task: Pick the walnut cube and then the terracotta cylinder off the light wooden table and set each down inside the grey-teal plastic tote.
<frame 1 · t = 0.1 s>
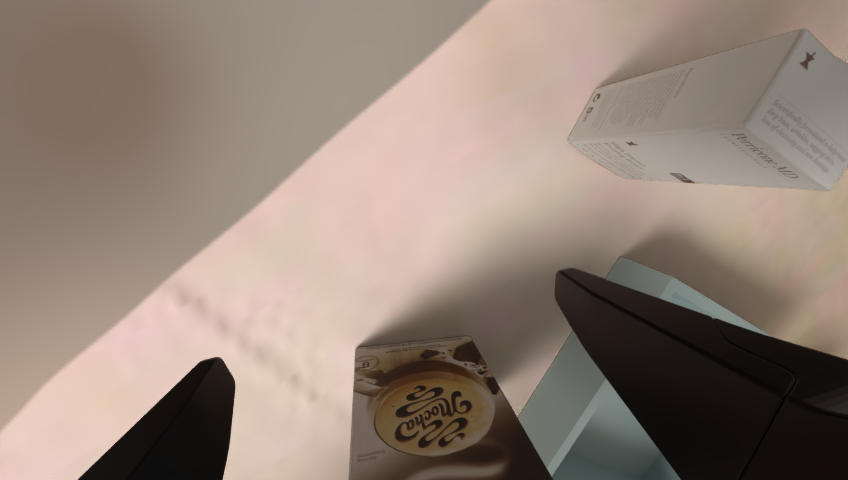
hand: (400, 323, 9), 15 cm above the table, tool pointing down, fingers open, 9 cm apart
tote: (628, 379, 31), on the table
coffee box: (414, 373, 28), on the table
skincare box: (610, 134, 26), on the table
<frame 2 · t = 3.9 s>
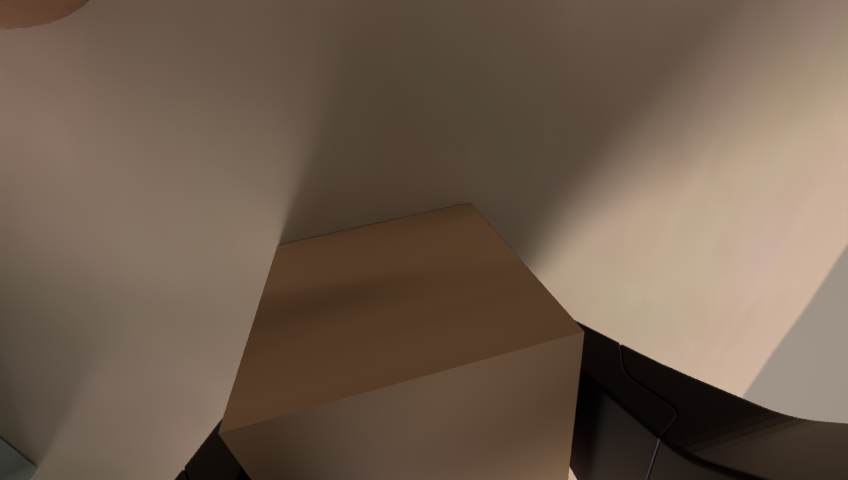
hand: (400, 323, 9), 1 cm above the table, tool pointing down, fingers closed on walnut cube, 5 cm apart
walnut cube: (394, 299, 10), on the table, touching gripper
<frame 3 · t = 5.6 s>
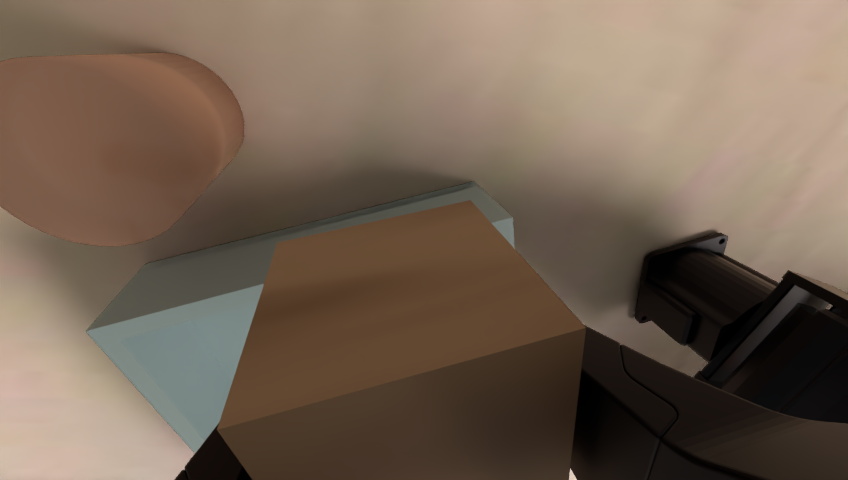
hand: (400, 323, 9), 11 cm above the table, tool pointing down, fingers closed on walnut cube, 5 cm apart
tote: (356, 327, 23), on the table
terracotta cylinder: (180, 117, 15), on the table
walnut cube: (394, 297, 10), point 10 cm above the table, touching gripper
when the fingers open (4 cm above the table, at t = 7.6 s): walnut cube drops 2 cm, resting on tote.
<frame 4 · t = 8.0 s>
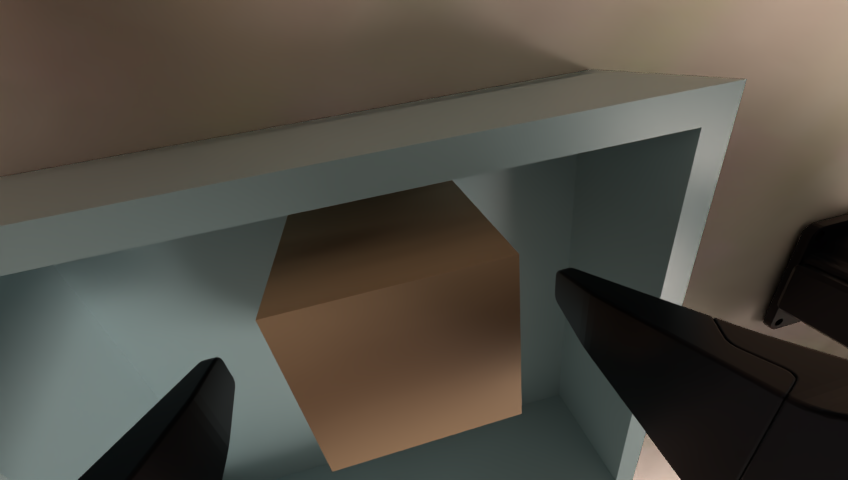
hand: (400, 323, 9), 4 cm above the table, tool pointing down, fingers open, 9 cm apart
tote: (372, 319, 14), on the table
walnut cube: (387, 260, 12), point 1 cm above the table, touching tote
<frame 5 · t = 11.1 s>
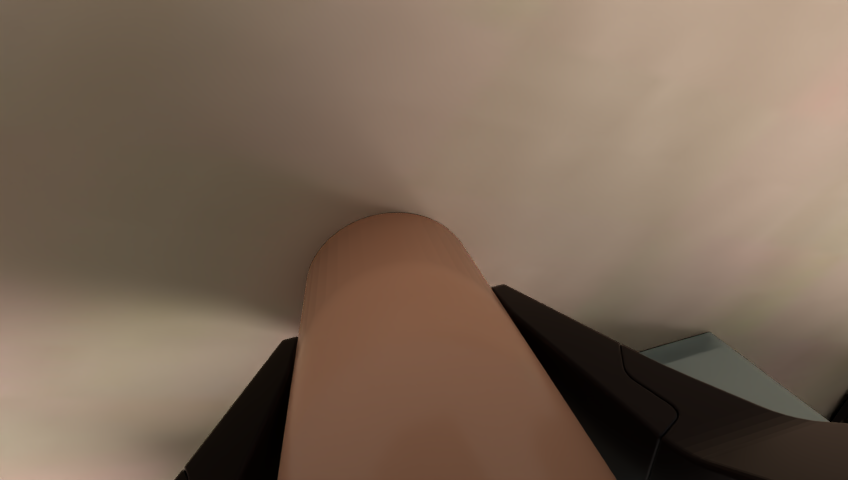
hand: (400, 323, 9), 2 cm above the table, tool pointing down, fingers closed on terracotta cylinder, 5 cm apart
terracotta cylinder: (392, 289, 11), on the table, touching gripper
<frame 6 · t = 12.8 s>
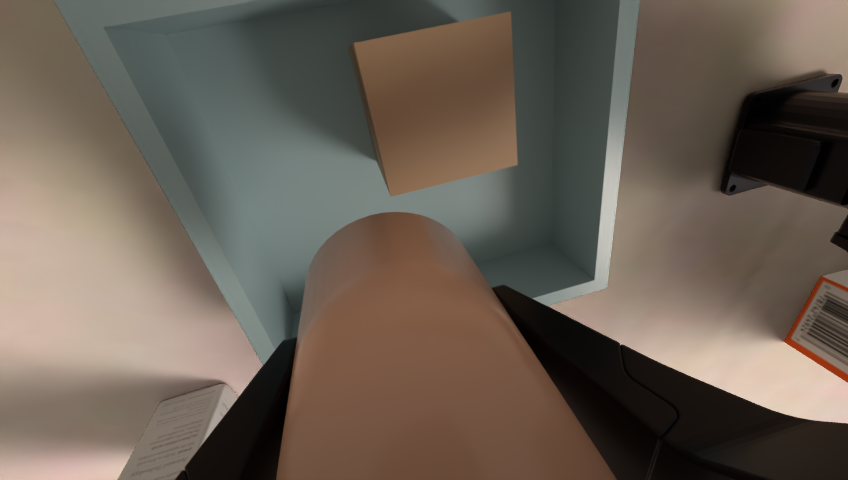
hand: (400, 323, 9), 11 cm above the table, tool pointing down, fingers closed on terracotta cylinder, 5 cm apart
tote: (403, 160, 18), on the table
terracotta cylinder: (392, 288, 11), point 9 cm above the table, touching gripper
walnut cube: (416, 96, 16), point 1 cm above the table, touching tote
skincare box: (212, 414, 24), on the table
when the fingers open (4 cm above the table, at t = 14.6 s): terracotta cylinder drops 2 cm, resting on tote.
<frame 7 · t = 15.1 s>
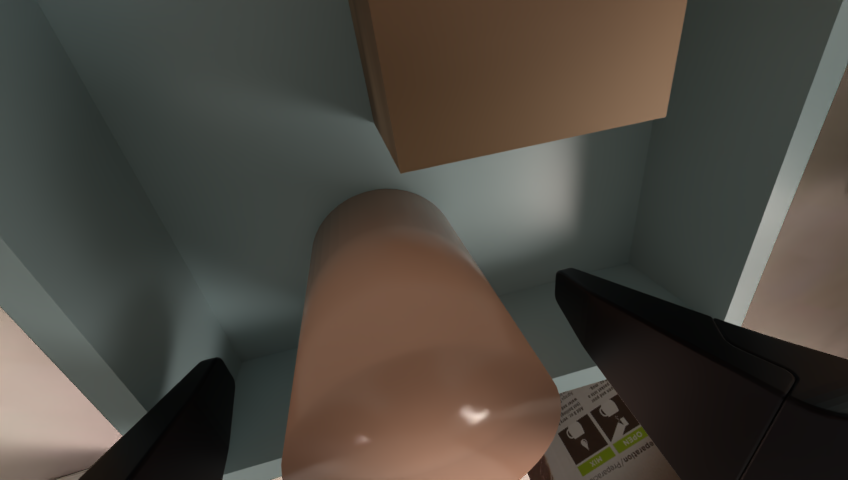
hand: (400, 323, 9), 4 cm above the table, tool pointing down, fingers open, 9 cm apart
tote: (418, 126, 11), on the table
terracotta cylinder: (386, 257, 12), point 1 cm above the table, touching tote
coffee box: (574, 409, 21), on the table
walnut cube: (446, 7, 9), point 1 cm above the table, touching tote
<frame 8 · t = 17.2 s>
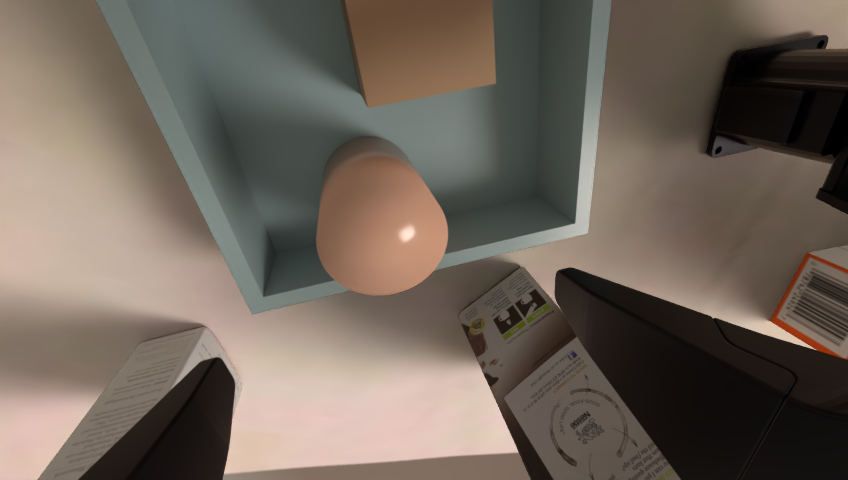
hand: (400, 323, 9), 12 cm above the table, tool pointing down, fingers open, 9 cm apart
tote: (388, 98, 18), on the table
terracotta cylinder: (369, 182, 19), point 1 cm above the table, touching tote
coffee box: (516, 320, 28), on the table
walnut cube: (401, 27, 16), point 1 cm above the table, touching tote
skincare box: (193, 361, 24), on the table
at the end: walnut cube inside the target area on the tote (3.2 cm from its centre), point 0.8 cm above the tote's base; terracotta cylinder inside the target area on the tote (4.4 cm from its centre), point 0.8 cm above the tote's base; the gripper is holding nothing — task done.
